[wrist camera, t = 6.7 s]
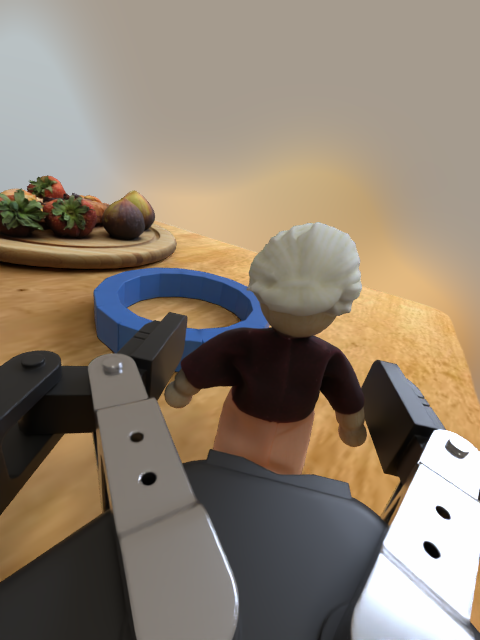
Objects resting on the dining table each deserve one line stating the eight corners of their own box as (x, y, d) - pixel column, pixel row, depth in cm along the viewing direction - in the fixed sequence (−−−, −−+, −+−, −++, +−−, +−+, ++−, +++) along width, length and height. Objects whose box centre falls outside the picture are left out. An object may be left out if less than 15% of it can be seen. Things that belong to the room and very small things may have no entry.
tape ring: (50, 331, 23) (46, 299, 21) (158, 280, 36) (159, 258, 35) (235, 399, 20) (243, 366, 18) (277, 316, 33) (283, 293, 32)
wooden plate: (-36, 207, 50) (-48, 153, 46) (152, 225, 65) (154, 186, 62) (-132, 271, 26) (-173, 167, 22) (203, 275, 41) (211, 215, 38)
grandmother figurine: (300, 460, 16) (395, 231, 11) (328, 537, 13) (487, 261, 7) (160, 459, 15) (183, 192, 9) (149, 546, 11) (175, 206, 6)
